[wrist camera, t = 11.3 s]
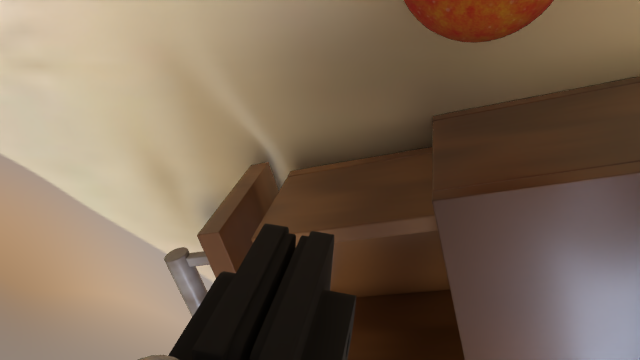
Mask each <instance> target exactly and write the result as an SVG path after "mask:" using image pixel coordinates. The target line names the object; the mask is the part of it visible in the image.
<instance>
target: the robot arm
mask: <svg viewBox="0 0 640 360" xmlns="http://www.w3.org/2000/svg"><path fill="white" fill-rule="evenodd" d="M333 250H334V234H328V233H322V232H316V231H311V232H310V234H309V236H303V235H302V236H301V237H300V239H299V242H298V244H297V246H296V235H295V234H291V233H289V229H288V227H285V226H279V225H273V224H267V223H266V224H264V225H263V227H262V229H261V230H260V232H259V234H258V235H257V237H256V239H255V241H254V242H253V244H252V246H251V248H250V249H249V251H248V253H247V255H246V256H245V258H244V260H243V262H242V263H241V265H240V267H239V269H238V270H237V272H236V273H231V272H226V271H223V272H221V273H220V274H219V275H218V277H217V278H216V280H215V281H214V283H213V285H212V286H211V288H210V290H209V291H208V293H207V294H206V296H205V298H204V299H203V301H202V302H201V304H200V306H199V307H198V309H197V310H196V312H195V314H194V315H193V317H192V318H191V320H190V322H189V323H188V325H187V326H186V328H185V330H184V331H183V333H182V334H181V336H180V338H179V339H178V341H177V343H176V344H175V346H174V347H173V349H172V351H171V352H170V354H169V355H168V356H167V355H152V356H148V357H145V358H141V359H138V360H347V359H348V353H349V348H350V342H351V336H352V329H353V322H354V314H355V306H356V295H350V294H345V293H339V292H334V291H330V286H331V274H332V262H333Z"/></svg>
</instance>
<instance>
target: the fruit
mask: <svg viewBox="0 0 640 360" xmlns="http://www.w3.org/2000/svg"><path fill="white" fill-rule="evenodd" d="M553 1H554V0H404V2H405V3H406V5H407V7H408V8H409V10H410V11H411V13H412V14H413V15H414V16H415V17H416V18H417V20H418V21H420V22H421V23H422V24H423V25H424V26H425V27H427V28H428V29H430V30H431V31H433V32H435V33H437V34H438V35H441V36H443V37H446V38H449V39H452V40H457V41H461V42H484V41H491V40H495V39H498V38H502V37H505V36H507V35H510V34H512V33H514V32H516V31H518V30H520V29H522V28H523V27H525V26H527V25H528V24H530V23H531V22H532V21H533V20H535V19H536V18H537V17H538V16H540V15H541V14H542V13H543V12H544V11H545V10H546V9H547V8H548V7H549V6H550V5H551V3H552V2H553Z"/></svg>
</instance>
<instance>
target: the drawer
mask: <svg viewBox="0 0 640 360" xmlns="http://www.w3.org/2000/svg"><path fill="white" fill-rule="evenodd" d="M266 223H267V224H273V225H279V226H285V227H288V229H289V233H291V234H295V235H296V246H297V244H298V242H299V239H300V237H301V236H302V235H303V236H309V234H310V232H311V231H316V232H322V233H328V234H334V250H333V262H332V274H331V286H330V291H334V292H339V293H345V294H350V295H356V306H355V314H354V322H353V329H352V336H351V342H350V348H349V353H348V359H347V360H465V359H464V354H463V349H462V344H461V340H460V335H459V330H458V325H457V320H456V315H455V311H454V306H453V301H452V296H451V291H450V286H449V281H448V277H447V272H446V267H445V262H444V257H443V252H442V248H441V243H440V238H439V233H438V228H437V223H436V219H435V214H434V209H433V204H432V147H428V148H422V149H416V150H410V151H405V152H399V153H393V154H387V155H381V156H375V157H370V158H364V159H358V160H352V161H346V162H341V163H335V164H329V165H323V166H317V167H311V168H306V169H300V170H294V171H291V172H290V173H289V175H288V177H287V179H286V181H285V182H284V184H283V186H282V187H281V189H280V191H278V188H277V185H276V182H275V179H274V176H273V174H272V171H271V168H270V165H269V162H266V163H260V164H255V165H251V166H250V167H249V169H248V170H247V171H246V172H245V174H244V175H243V176H242V178H241V179H240V180H239V182H238V183H237V184H236V185H235V187H234V188H233V189H232V191H231V192H230V193H229V194H228V196H227V197H226V198H225V200H224V201H223V202H222V204H221V205H220V206H219V207H218V209H217V210H216V211H215V213H214V214H213V215H212V216H211V218H210V219H209V220H208V222H207V223H206V224H205V225H204V227H203V228H202V229H201V231H200V232H199V233H198V235H197V237H198V239H199V241H200V243H201V246H202V248H203V250H204V252H196V253H189V251H188V249H187V248H184V247H182V248H177V249H175V250H173V251H171V252H169V253H168V254H167V255H166V256H165V258H164V260H165V262H166V264H167V266H168V269H169V271H170V272H171V275H172V277H173V279H174V281H175V283H176V285H177V287H178V289H179V291H180V293H181V295H182V297H183V299H184V301H185V303H186V305H187V307H188V309H189V311H190V313H191V315H192V317H193V315H194V314H195V312H196V310H197V309H198V307H199V306H200V304H201V302H202V301H203V299H204V298H205V296H206V294H207V293H208V292H207V290H206V288H205V286H204V283H203V281H202V279H201V277H200V275H199V273H198V270H197V268H196V266H201V265H210V266H211V268H212V270H213V272H214V275H215V277H216V278H217V277H218V275H219V274H220V273H221V272H223V271H226V272H231V273H236V272H237V270H238V269H239V267H240V265H241V263H242V262H243V260H244V258H245V256H246V255H247V253H248V251H249V249H250V248H251V246H252V244H253V242H254V241H255V239H256V237H257V235H258V234H259V232H260V230H261V229H262V227H263V225H264V224H266Z"/></svg>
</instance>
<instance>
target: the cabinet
mask: <svg viewBox="0 0 640 360" xmlns="http://www.w3.org/2000/svg"><path fill="white" fill-rule="evenodd" d="M432 204H433V209H434V214H435V219H436V223H437V228H438V233H439V238H440V243H441V248H442V252H443V257H444V262H445V267H446V272H447V277H448V281H449V286H450V291H451V296H452V301H453V306H454V311H455V315H456V320H457V325H458V330H459V335H460V340H461V344H462V349H463V354H464V359H465V360H640V77H635V78H630V79H624V80H619V81H614V82H609V83H603V84H598V85H593V86H588V87H582V88H577V89H572V90H567V91H562V92H556V93H551V94H546V95H541V96H535V97H530V98H525V99H520V100H514V101H509V102H504V103H499V104H493V105H488V106H483V107H478V108H473V109H467V110H462V111H457V112H452V113H446V114H441V115H436V116H433V144H432Z"/></svg>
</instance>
